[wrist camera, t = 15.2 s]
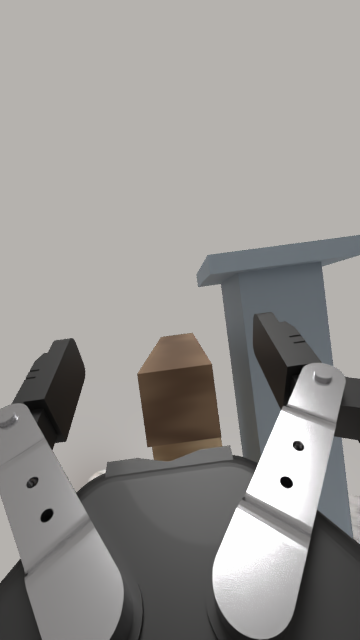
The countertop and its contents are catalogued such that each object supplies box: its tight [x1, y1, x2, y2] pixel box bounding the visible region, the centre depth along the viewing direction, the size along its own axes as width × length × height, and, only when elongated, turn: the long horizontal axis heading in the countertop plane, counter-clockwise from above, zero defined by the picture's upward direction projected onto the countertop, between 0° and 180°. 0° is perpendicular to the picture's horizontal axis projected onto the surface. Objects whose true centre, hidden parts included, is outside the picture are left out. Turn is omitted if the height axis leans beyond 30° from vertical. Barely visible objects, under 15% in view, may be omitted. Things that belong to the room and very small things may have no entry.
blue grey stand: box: [197, 235, 360, 538], centre depth 29 cm, size 12×12×32 cm
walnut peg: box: [137, 333, 221, 447], centre depth 26 cm, size 4×21×4 cm, turn 0°
